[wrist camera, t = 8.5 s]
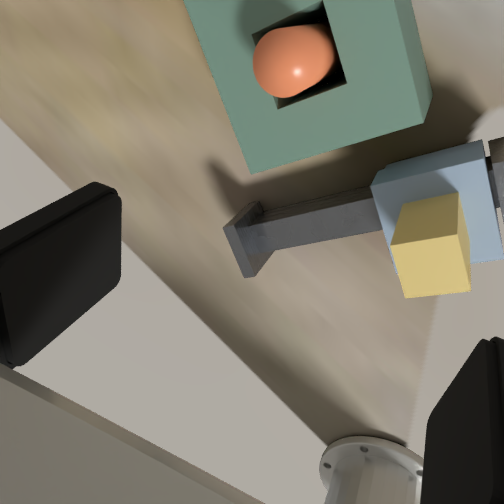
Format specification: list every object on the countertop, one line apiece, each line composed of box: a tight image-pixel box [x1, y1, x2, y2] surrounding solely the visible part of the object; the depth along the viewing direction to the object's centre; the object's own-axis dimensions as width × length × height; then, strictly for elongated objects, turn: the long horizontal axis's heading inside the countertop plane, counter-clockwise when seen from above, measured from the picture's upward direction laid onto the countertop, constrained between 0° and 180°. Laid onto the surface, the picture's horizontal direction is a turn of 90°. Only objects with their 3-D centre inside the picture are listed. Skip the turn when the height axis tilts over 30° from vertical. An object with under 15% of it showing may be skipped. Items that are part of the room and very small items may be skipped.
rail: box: [223, 137, 504, 278], centre depth 31 cm, size 4×19×5 cm, turn 113°
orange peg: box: [253, 22, 342, 98], centre depth 24 cm, size 3×3×8 cm
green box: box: [183, 0, 433, 174], centre depth 26 cm, size 10×10×8 cm
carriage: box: [370, 140, 504, 298], centre depth 26 cm, size 6×6×11 cm
